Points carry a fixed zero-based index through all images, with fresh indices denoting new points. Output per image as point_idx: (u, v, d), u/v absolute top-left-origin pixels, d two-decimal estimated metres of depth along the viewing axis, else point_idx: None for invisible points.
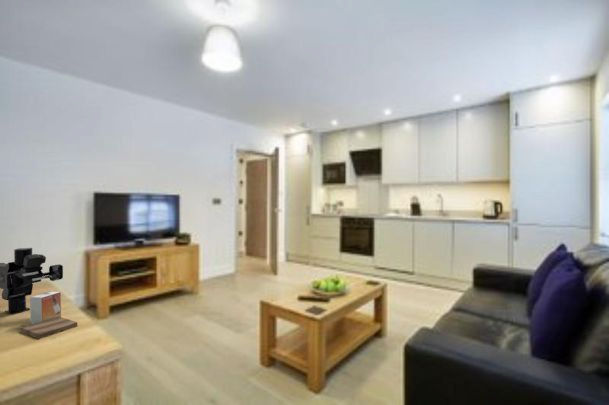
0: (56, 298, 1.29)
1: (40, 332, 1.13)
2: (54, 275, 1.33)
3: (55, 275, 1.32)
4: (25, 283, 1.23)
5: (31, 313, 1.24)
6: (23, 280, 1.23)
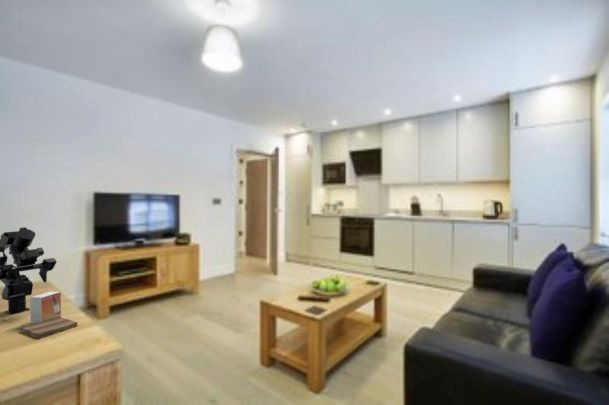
0: (56, 298, 1.29)
1: (40, 332, 1.13)
2: (42, 274, 1.36)
3: (43, 277, 1.35)
4: (18, 282, 1.28)
5: (31, 313, 1.24)
6: (17, 279, 1.28)
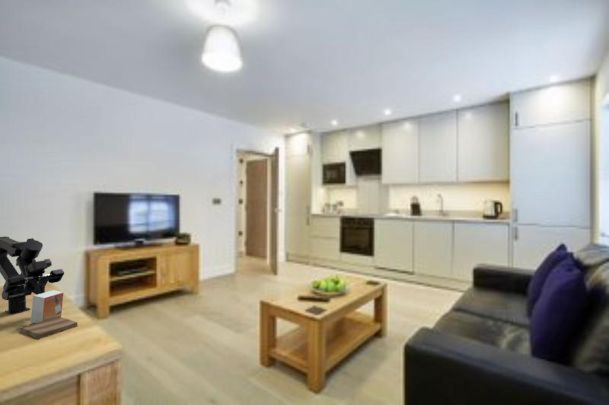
0: (58, 298, 1.29)
1: (40, 332, 1.13)
2: (40, 288, 1.30)
3: (41, 291, 1.29)
4: (36, 293, 1.28)
5: (32, 311, 1.24)
6: (35, 289, 1.28)
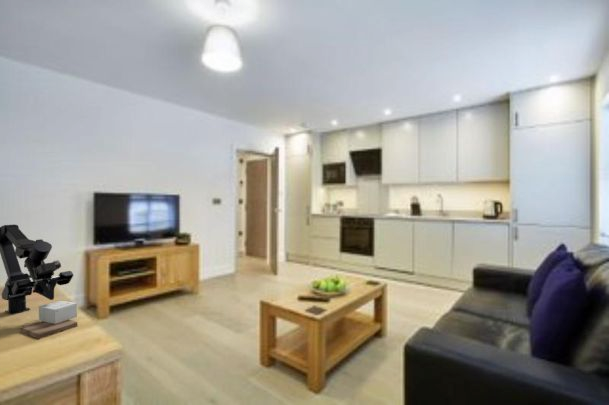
0: None
1: (40, 332, 1.13)
2: (49, 290, 1.27)
3: None
4: (45, 296, 1.25)
5: (44, 309, 1.22)
6: (45, 292, 1.25)
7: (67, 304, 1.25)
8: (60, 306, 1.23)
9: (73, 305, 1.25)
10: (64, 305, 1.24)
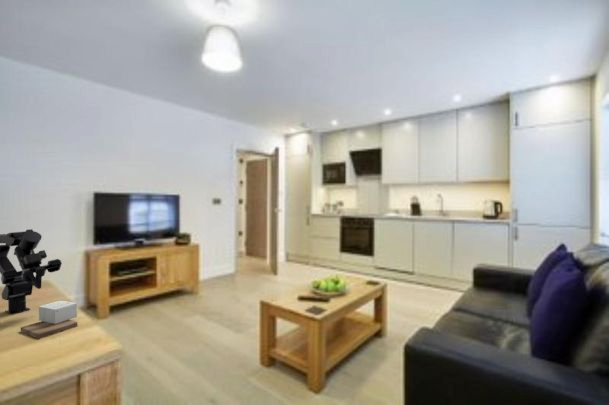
0: None
1: (40, 332, 1.13)
2: (37, 279, 1.31)
3: (38, 282, 1.30)
4: (33, 284, 1.30)
5: (44, 309, 1.22)
6: (32, 281, 1.29)
7: (67, 304, 1.25)
8: (60, 306, 1.23)
9: (73, 305, 1.25)
10: (64, 305, 1.24)
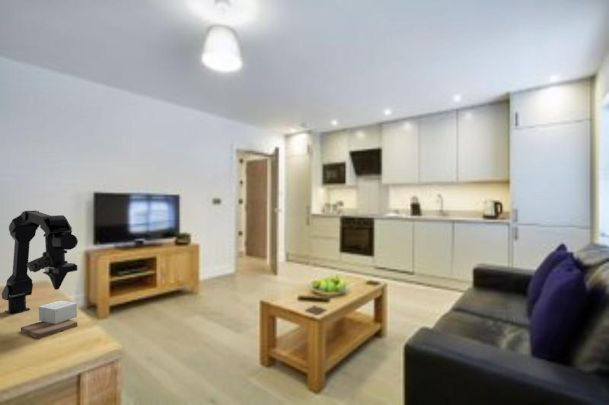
0: None
1: (40, 332, 1.13)
2: None
3: None
4: None
5: (44, 309, 1.22)
6: None
7: (67, 304, 1.25)
8: (60, 306, 1.23)
9: (73, 305, 1.25)
10: (64, 305, 1.24)
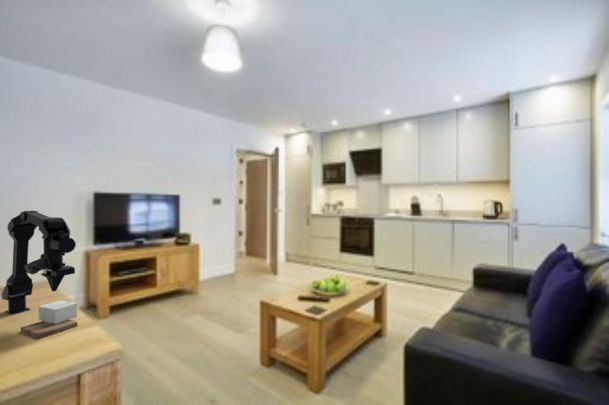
0: None
1: (40, 332, 1.13)
2: None
3: None
4: None
5: (44, 309, 1.22)
6: None
7: (67, 304, 1.25)
8: (60, 306, 1.23)
9: (73, 305, 1.25)
10: (64, 305, 1.24)
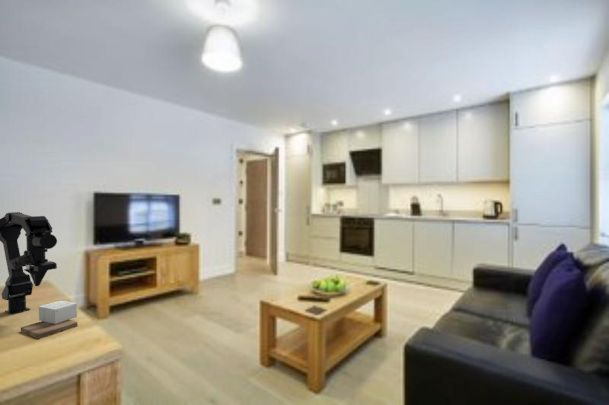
0: None
1: (40, 332, 1.13)
2: None
3: None
4: None
5: (44, 309, 1.22)
6: None
7: (67, 304, 1.25)
8: (60, 306, 1.23)
9: (73, 305, 1.25)
10: (64, 305, 1.24)
